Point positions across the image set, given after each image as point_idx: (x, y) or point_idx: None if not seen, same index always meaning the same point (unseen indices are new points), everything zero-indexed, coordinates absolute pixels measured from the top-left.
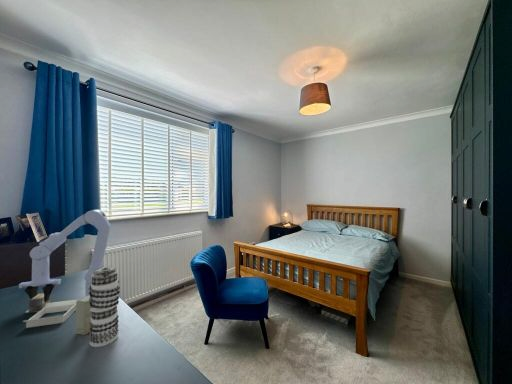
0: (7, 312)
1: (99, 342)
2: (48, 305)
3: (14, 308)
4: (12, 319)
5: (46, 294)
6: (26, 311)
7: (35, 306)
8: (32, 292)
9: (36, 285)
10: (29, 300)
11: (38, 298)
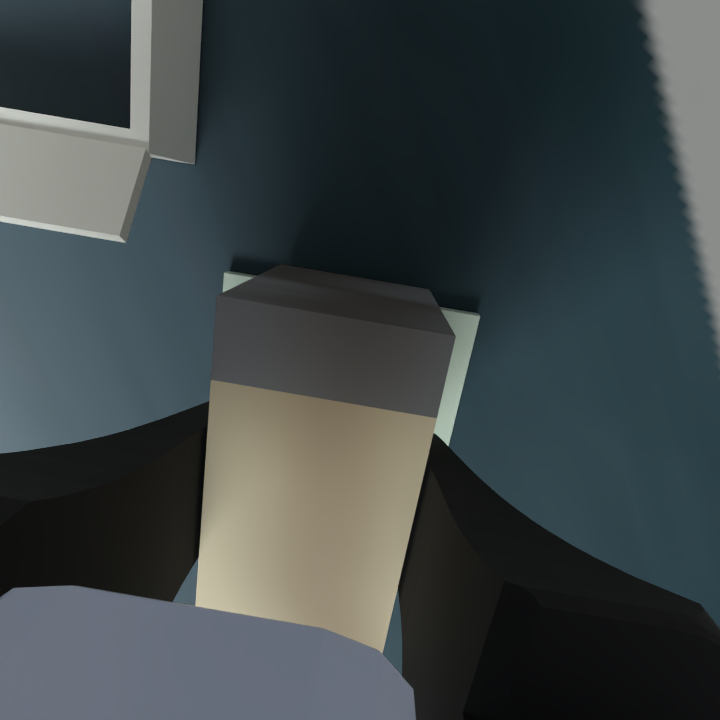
0: (712, 452)
1: None
2: (77, 163)
3: (660, 544)
4: (579, 146)
5: (117, 434)
6: (468, 330)
7: (332, 286)
8: (452, 573)
9: (4, 640)
10: (443, 340)
11: (283, 376)
